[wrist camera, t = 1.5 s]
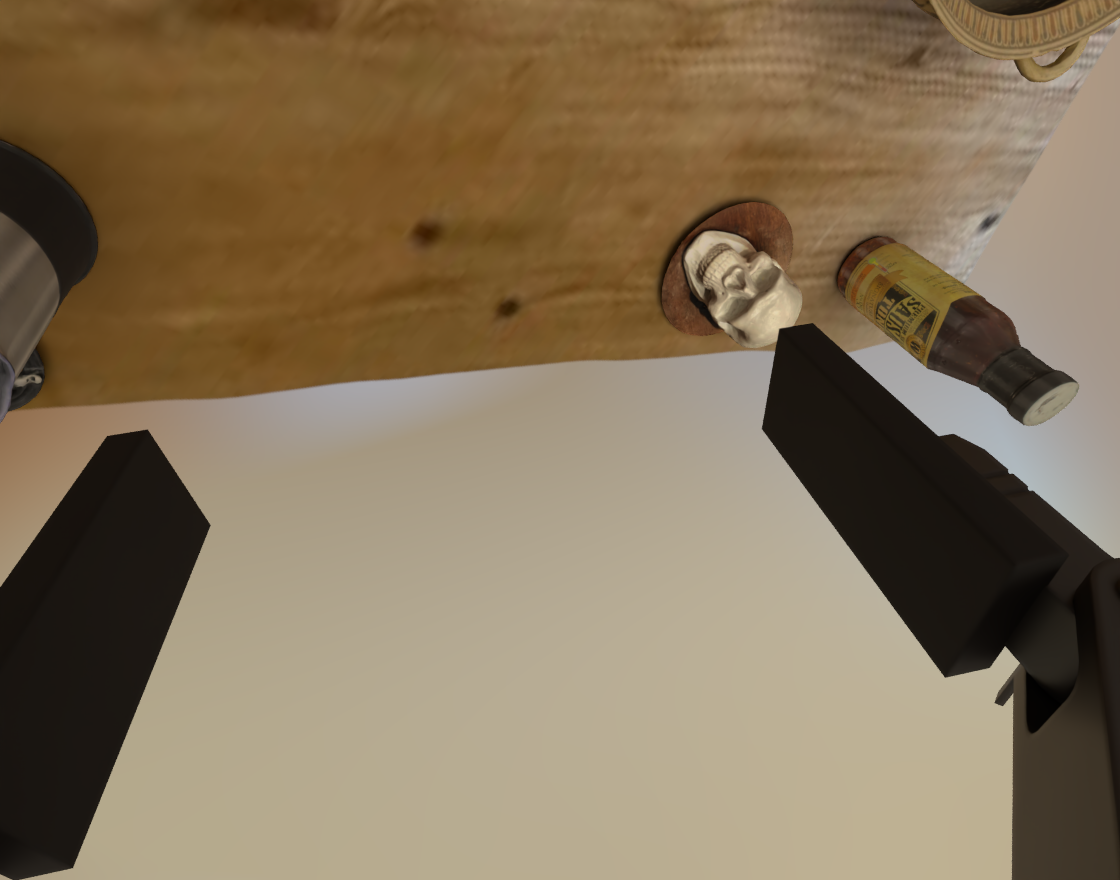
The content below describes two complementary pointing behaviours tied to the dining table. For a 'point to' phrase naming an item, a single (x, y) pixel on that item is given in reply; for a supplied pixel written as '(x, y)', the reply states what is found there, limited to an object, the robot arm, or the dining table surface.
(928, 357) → the sauce bottle
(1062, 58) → the ceramic bowl
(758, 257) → the skull
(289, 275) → the dining table surface
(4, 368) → the milk frother
